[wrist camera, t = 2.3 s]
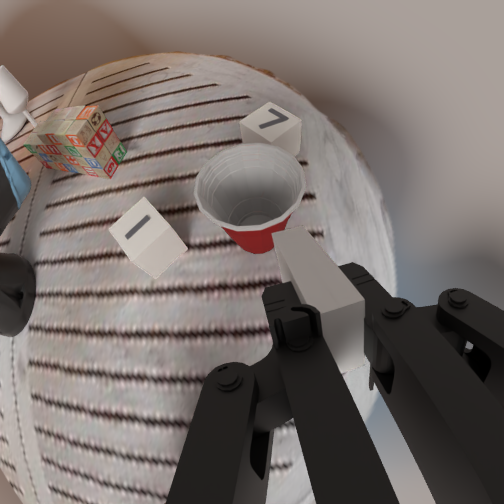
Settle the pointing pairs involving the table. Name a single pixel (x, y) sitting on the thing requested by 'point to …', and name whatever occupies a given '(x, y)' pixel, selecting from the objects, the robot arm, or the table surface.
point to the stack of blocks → (77, 142)
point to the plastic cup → (250, 192)
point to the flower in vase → (11, 123)
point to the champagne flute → (13, 95)
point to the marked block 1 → (148, 238)
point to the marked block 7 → (272, 128)
